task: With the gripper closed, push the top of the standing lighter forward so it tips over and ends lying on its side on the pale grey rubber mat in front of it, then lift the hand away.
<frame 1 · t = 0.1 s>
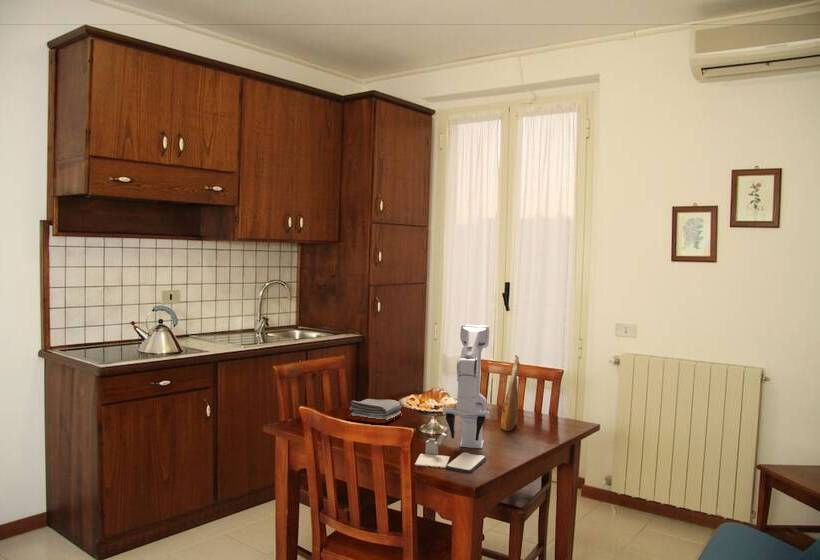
hand: (464, 438, 202), 10 cm above the table, tool pointing down, fingers open, 7 cm apart
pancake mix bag: (510, 426, 256), on the table
lighter: (435, 455, 216), on the table
phone case: (466, 465, 208), on the table
mat: (432, 461, 210), on the table
towel: (374, 419, 262), on the table
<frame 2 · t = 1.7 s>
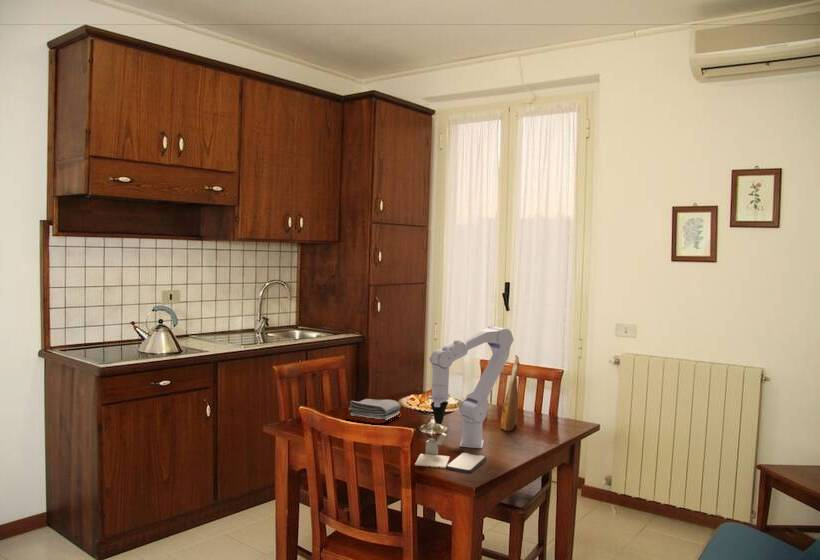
hand: (438, 423, 222), 9 cm above the table, tool pointing down, fingers closed
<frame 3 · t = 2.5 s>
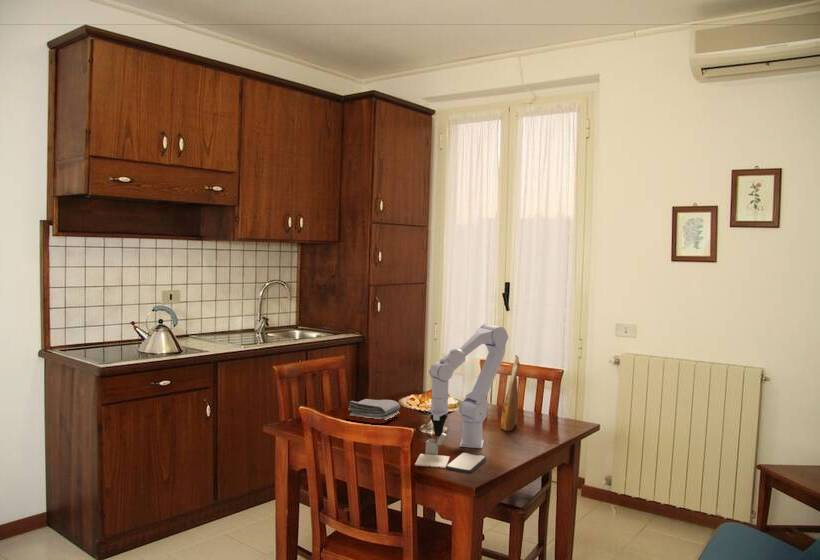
hand: (438, 435, 222), 5 cm above the table, tool pointing down, fingers closed
nothing on the table moved.
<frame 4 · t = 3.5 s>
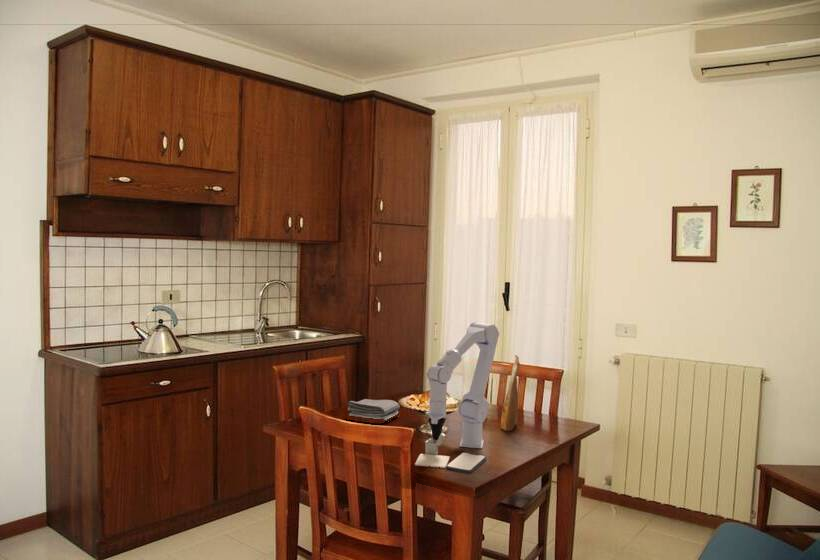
hand: (436, 439, 217), 5 cm above the table, tool pointing down, fingers closed
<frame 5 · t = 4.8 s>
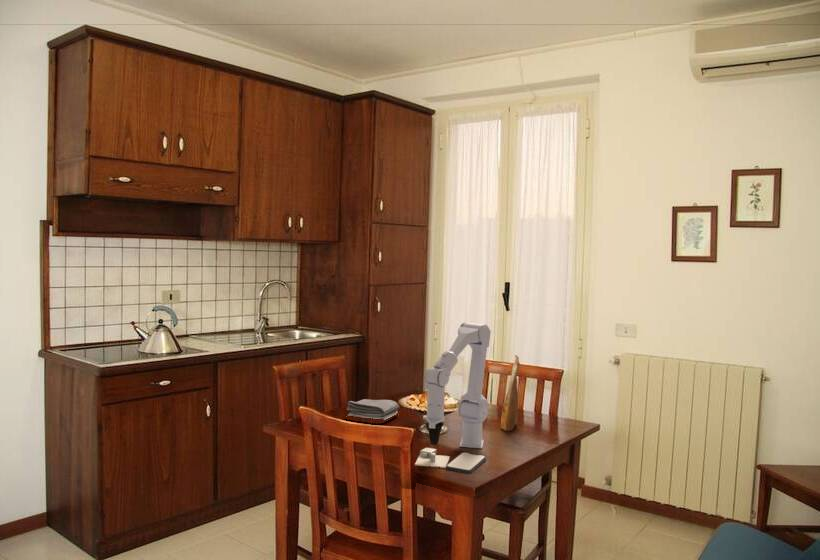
hand: (434, 444, 212), 5 cm above the table, tool pointing down, fingers closed
lighter: (435, 451, 216), point 1 cm above the table, touching mat
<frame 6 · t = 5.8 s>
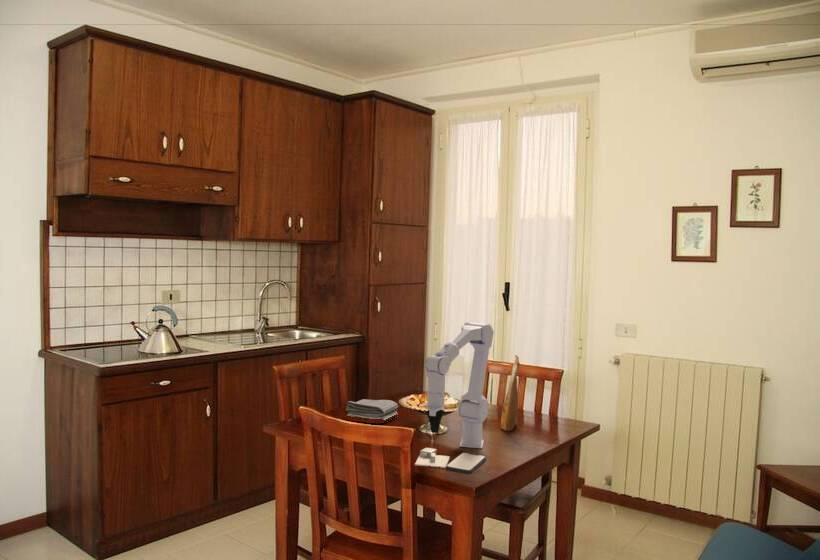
hand: (434, 432, 212), 9 cm above the table, tool pointing down, fingers closed
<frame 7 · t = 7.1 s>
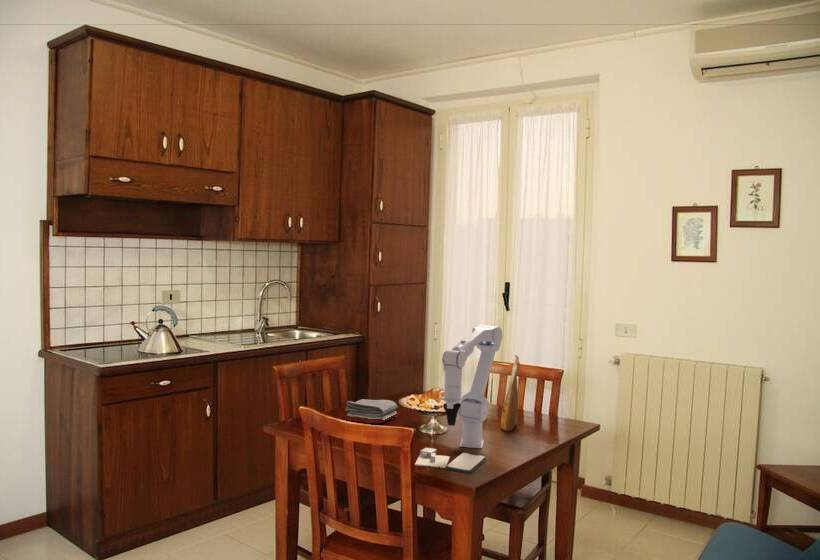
hand: (451, 425, 216), 10 cm above the table, tool pointing down, fingers closed
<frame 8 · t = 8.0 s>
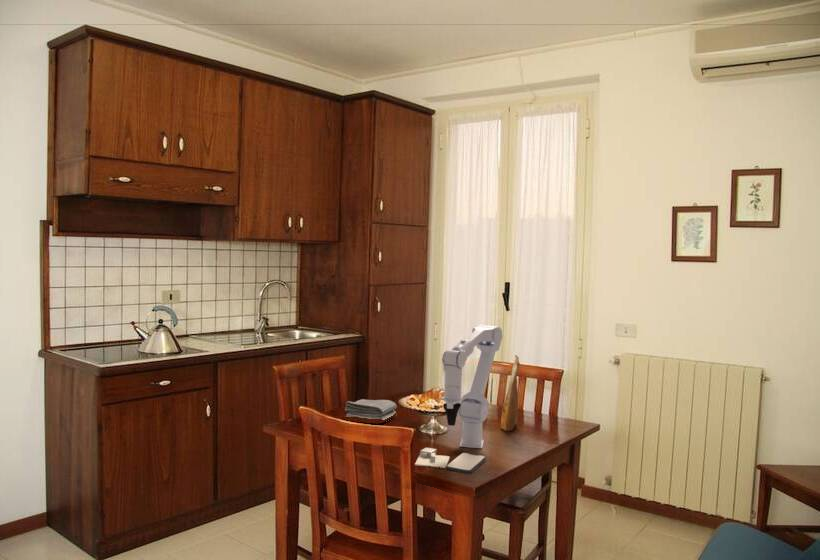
hand: (451, 425, 216), 10 cm above the table, tool pointing down, fingers closed
at the end: lighter tilted 90°; lighter inside the target area (4.6 cm from its centre), point 1.3 cm above the table; lighter touching mat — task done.
